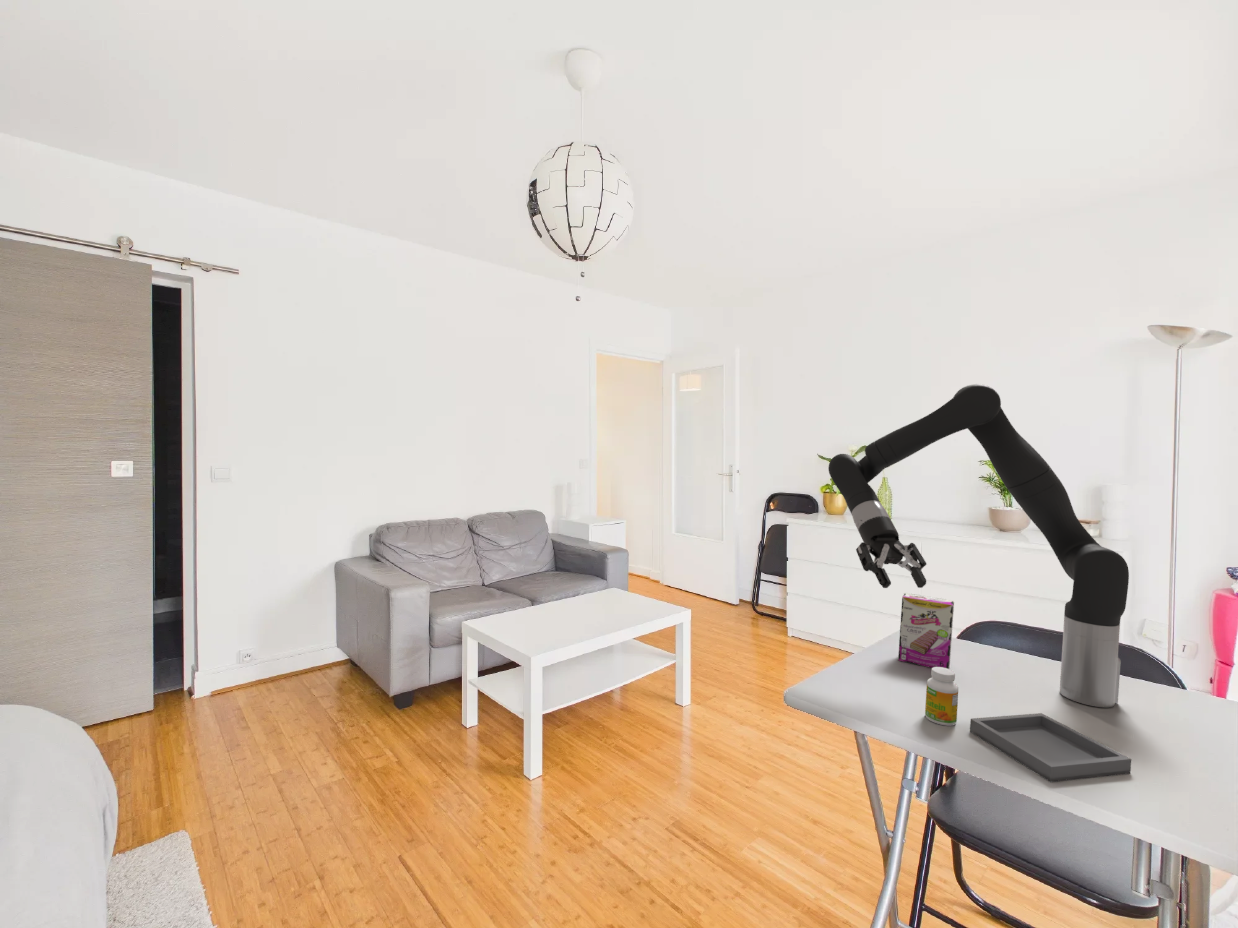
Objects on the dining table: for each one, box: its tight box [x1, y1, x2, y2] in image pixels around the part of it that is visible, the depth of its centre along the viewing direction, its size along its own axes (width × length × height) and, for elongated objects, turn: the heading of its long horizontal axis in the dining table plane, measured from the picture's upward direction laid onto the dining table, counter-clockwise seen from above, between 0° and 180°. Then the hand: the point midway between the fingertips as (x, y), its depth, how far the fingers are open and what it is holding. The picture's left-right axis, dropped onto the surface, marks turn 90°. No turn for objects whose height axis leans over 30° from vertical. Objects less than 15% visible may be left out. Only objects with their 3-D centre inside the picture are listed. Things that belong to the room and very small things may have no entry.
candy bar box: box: [897, 592, 955, 669], centre depth 139 cm, size 11×5×16 cm, turn 58°
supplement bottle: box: [924, 667, 959, 727], centre depth 111 cm, size 5×5×10 cm
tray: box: [969, 712, 1132, 783], centre depth 100 cm, size 16×16×2 cm
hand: (905, 586), depth 121 cm, fingers open, 8 cm apart
